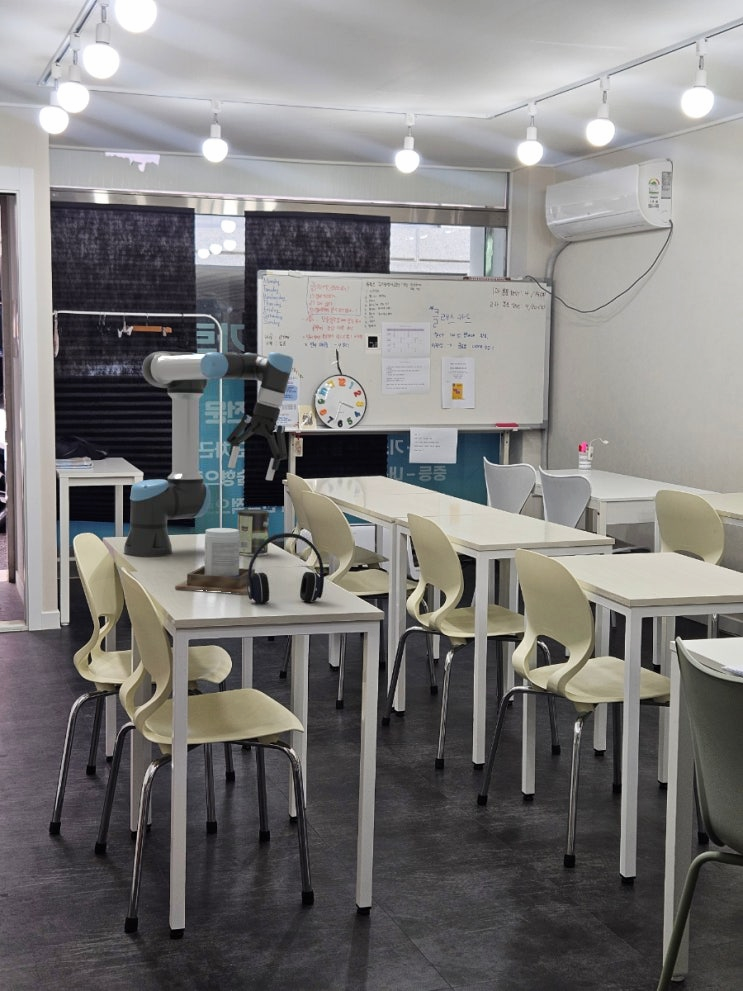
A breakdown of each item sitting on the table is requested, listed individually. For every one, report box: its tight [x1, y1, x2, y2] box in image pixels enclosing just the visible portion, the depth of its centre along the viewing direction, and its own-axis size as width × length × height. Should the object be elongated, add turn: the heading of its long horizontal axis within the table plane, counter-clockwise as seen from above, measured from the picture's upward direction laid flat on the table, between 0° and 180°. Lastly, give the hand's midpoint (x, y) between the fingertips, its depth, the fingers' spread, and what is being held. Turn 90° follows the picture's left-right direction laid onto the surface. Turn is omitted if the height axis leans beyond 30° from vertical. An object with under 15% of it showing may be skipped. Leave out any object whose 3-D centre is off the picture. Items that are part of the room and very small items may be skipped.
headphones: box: [247, 532, 325, 604], centre depth 308 cm, size 20×7×18 cm, turn 108°
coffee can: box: [237, 509, 270, 557], centre depth 386 cm, size 10×10×14 cm
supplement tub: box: [204, 527, 240, 577], centre depth 327 cm, size 10×10×15 cm
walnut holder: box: [174, 565, 256, 595], centre depth 328 cm, size 20×20×4 cm
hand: (249, 473), depth 350 cm, fingers open, 13 cm apart
